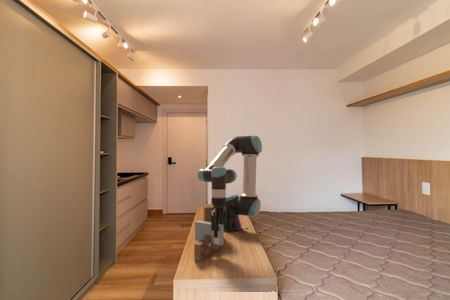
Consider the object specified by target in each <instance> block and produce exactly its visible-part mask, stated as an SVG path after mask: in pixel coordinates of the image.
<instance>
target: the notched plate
mask: <svg viewBox="0 0 450 300" xmlns="http://www.w3.org/2000/svg"><path fill="white" fill-rule="evenodd" d="M219 231H220V244H215V243H214V231H212V230H211V222H205V221H204V220H199V219H198V220H196V221H195V222H194V241H196V242H199V241H201V240H202V239H204V238H205V239H207V235H210V236H211V244H214V245H218V246H221V245H222V246H223V245H224V238H225V237H224V236H225V235H224V232H225V231H224V225H223V224H219ZM222 246H221V247H222Z"/></svg>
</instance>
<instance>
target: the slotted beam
mask: <svg viewBox="0 0 450 300" xmlns="http://www.w3.org/2000/svg"><path fill="white" fill-rule="evenodd" d="M222 246H223V245H221V246H218V245H214V244H211V236H210V235H209V239H205V238H204V239H202V240H201V241H196V243H194V249H193V250H194V261H195V262H201V261H202V260H204V259H205V258H207V257H208V256H209V255H211V254H212V253H214V252H215V251H216V250H218V249H219V248H220V247H222Z"/></svg>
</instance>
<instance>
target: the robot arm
mask: <svg viewBox="0 0 450 300" xmlns="http://www.w3.org/2000/svg"><path fill="white" fill-rule="evenodd" d="M262 143H263V142H262V141H261V138H260V136H258V135H244V136H235V137H233V138H231V139H229V140H228V141H227V142H225V144H224V145H223V146H222V149H221V150H220V152H219V153H218V154H216V156H215V158H213V159H212V161H211V162H209V164H208V166H206V168H201V169H199V170H198V172H197V178H198V181H199V182H202V183H211V200H210V201H211V203H210V204H212V205H213V206H214V207H213V211H212V212H210V215H211V230H212V231H214V243H215V244H220V231H219V224H223V225H224V232H226V233H227V232H228V233H232V232H233V233H235V232H238V231H241V230H242V223H241V220H240V217H239V216H247V217H257V215H259V212H260V210H261V199H259V198H258V195H257V192H256V190H257V187H256V186H257V185H256V183H257V158H258V157H259V156H260V153H262V150H263V145H262ZM236 154H241V156H242V157H243V170H242V171H243V173H242V174H243V178H242V193H241V194H240V195H239V194H237V193H236V194H228V195H227V188H226V187H227V184H232V183H234V182H235V181H236V180H237V177H238V176H237V172H236V171H235V170H233V169H230V168H229V169H226V167H225V165H226V163H227V162H228V161H229V160H230V159H231V157H232V156H233V157H234V156H235V155H236ZM217 215H218V216H217Z"/></svg>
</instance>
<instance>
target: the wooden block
mask: <svg viewBox="0 0 450 300" xmlns="http://www.w3.org/2000/svg"><path fill="white" fill-rule="evenodd" d="M213 207H214V206H213V205H212V203H205V204H203V221H205V222H211V215H210V212H212V211H213ZM217 216H218V215H217ZM207 239H209V235H207Z"/></svg>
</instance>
